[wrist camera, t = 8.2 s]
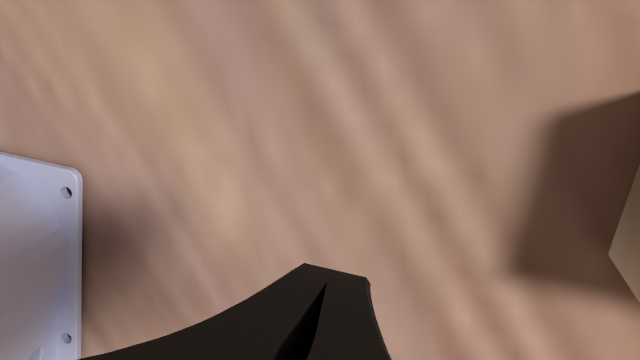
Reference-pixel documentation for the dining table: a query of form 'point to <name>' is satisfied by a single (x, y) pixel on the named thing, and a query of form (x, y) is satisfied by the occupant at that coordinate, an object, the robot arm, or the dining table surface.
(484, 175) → the dining table surface
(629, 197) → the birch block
